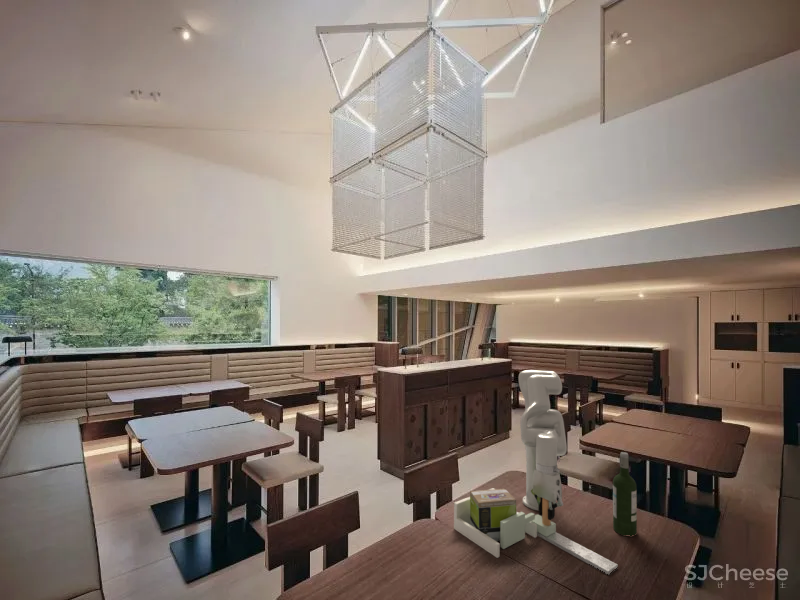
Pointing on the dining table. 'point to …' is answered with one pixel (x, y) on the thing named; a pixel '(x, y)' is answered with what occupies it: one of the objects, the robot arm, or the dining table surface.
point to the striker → (515, 525)
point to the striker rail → (580, 552)
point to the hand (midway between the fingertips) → (546, 516)
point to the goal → (474, 534)
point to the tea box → (491, 510)
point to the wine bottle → (624, 500)
